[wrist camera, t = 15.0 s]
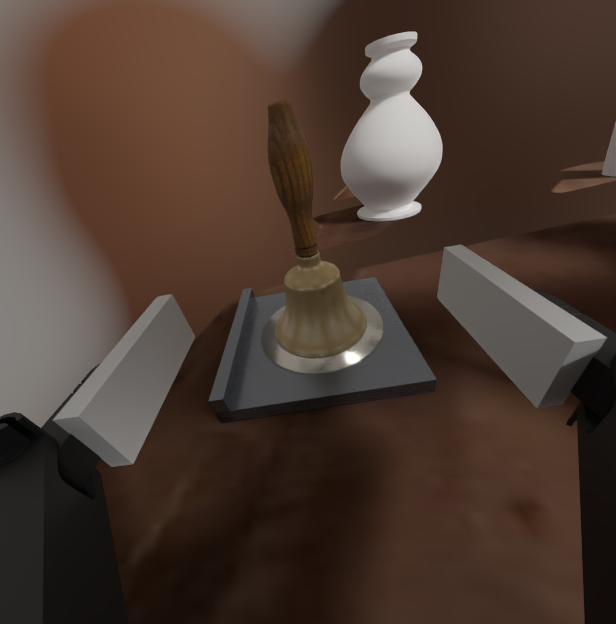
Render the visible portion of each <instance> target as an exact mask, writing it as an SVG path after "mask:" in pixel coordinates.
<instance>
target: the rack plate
mask: <svg viewBox="0 0 616 624" xmlns="http://www.w3.org/2000/svg"><path fill="white" fill-rule="evenodd" d="M342 284H343V288H344V290H345V293H346V295H347V297H348V299H349V300H350V301H352V302H353V303H355V304H356V305H357V306H358V307H360V309H361V310H362V311H363V313H364V315H365V317H366V320H367V328H366V331H365V333H364V335H363V337H362V338H361V339H360V341H359V342H358V343H357V344H356V345H354V346H353V347H352V348H350V349H349V350H347V351H345V352H342V353H340V354H337V355H334V356H330V357H325V358H315V359H310V358H303V357H299V356H295V355H293V354H290V353H288V352H287V351H285V350H284V349H282V348H281V346H280V345H279V344H278V342H277V340H276V338H275V327H276V324H277V321H278V319H279V318H280V316H281V315H282V314H283V312H284V311H285V306H286V292H284V293H278V294H272V295H266V296H261V297H255V296H254V293H253V290H252V288H248V289H243V292H242V295H241V298H240V301H239V305H238V308H237V311H236V314H235V318H234V321H233V324H232V327H231V330H230V334H229V337H228V340H227V343H226V346H225V350H224V353H223V356H222V359H221V362H220V366H219V369H218V372H217V375H216V378H215V382H214V385H213V388H212V391H211V394H210V398H209V401H208V402H209V403H210V405H211V407H212V408H213V410H214V411H215V413H216V415H217V416H218V418H219V419H220V421H221V423H225V422H232V421H238V420H245V419H252V418H258V417H265V416H272V415H279V414H285V413H292V412H299V411H305V410H312V409H319V408H325V407H332V406H339V405H345V404H352V403H359V402H366V401H372V400H379V399H386V398H392V397H399V396H406V395H412V394H419V393H426V392H432V391H435V386H436V381H437V379H436V378H435V376H434V374H433V373H432V371H431V369H430V368H429V366H428V364H427V363H426V361H425V359H424V358H423V356H422V354H421V353H420V351H419V349H418V348H417V346H416V344H415V343H414V341H413V339H412V338H411V336H410V335H409V333H408V331H407V330H406V328H405V326H404V325H403V323H402V321H401V320H400V318H399V316H398V315H397V313H396V311H395V310H394V308H393V306H392V305H391V303H390V301H389V300H388V298H387V296H386V295H385V293H384V291H383V290H382V288H381V286H380V285H379V283H378V282H377V280H376V278H375V277H371V278H366V279H360V280H354V281H348V282H342Z"/></svg>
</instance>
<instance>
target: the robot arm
mask: <svg viewBox="0 0 616 624" xmlns="http://www.w3.org/2000/svg"><path fill="white" fill-rule="evenodd" d="M437 298H438V299H439V301H440V302H441V303H442V304H443V305H444V306H445V307H446V308H447V309H448V311H449V312H450V313H451V314H452V315H453V316H454V317H455V318H456V319H457V321H458V322H459V323H460V324H461V325H462V326H463V327H464V328H465V329H466V331H467V332H468V333H469V334H470V335H471V336H472V337H473V338H474V339H475V341H476V342H477V343H478V344H479V345H480V346H481V347H482V348H483V349H484V351H485V352H486V353H487V354H488V355H489V356H490V357H491V358H492V359H493V360H494V362H495V363H496V364H497V365H498V366H499V367H500V368H501V369H502V370H503V372H504V373H505V374H506V375H507V376H508V377H509V378H510V379H511V380H512V382H513V383H514V384H515V385H516V386H517V387H518V388H519V389H520V390H521V392H522V393H523V394H524V395H525V396H526V397H527V398H528V399H529V400H530V402H531V403H532V404H533V405H534V406H535V407H536V408H537V409H538V408H545V407H553V406H560V405H563V404H564V402H565V401H566V399H567V398H568V396H569V395H570V393H571V392H572V393H573V394H574V395H575V396H576V397H577V398H578V399H579V400H580V401H581V402H580V404H579V405H578V406H577V408H576V409H575V411H574V412H573V413H572V415H571V416H570V418H569V419H568V421H567V424H566V425H569V426H572V425H573V423H574V422H575V421H576V420H577V427H578V454H579V480H580V507H581V533H582V560H583V586H584V613H585V624H616V333H615V332H613V331H611V330H610V329H608V328H607V327H605V326H603V325H602V324H600V323H598V322H597V321H595V320H593V319H592V318H590V317H588V316H587V315H585V314H581V313H580V311H578V310H577V309H575V308H573V307H572V306H571V307H569V304H567V303H565V302H564V301H562V300H560V299H559V298H557V297H555V296H553V295H550V294H547V293H544V292H542V291H539V290H532V289H530V288H528V287H527V286H525V285H524V284H522V283H521V282H519V281H517V280H516V279H514V278H513V277H511V276H510V275H508V274H506V273H505V272H503V271H502V270H500V269H499V268H497V267H495V266H494V265H492V264H491V263H489V262H488V261H486V260H484V259H483V258H481V257H480V256H478V255H477V254H475V253H473V252H472V251H470V250H469V249H467V248H466V247H464V246H462V245H457V246H451V247H445V248H444V253H443V260H442V267H441V273H440V280H439V287H438V294H437ZM194 339H195V335H194V333H193V331H192V330H191V328H190V326H189V324H188V322H187V320H186V318H185V317H184V315H183V313H182V311H181V309H180V307H179V306H178V304H177V302H176V300H175V298H174V296H173V294H170V295H164V296H159V297H157V298H156V299H155V300H154V301H153V302H152V304H151V305H150V306H149V307H148V308H147V309H146V311H145V312H144V313H143V314H142V315H141V316H140V318H139V319H138V320H137V321H136V323H135V324H134V325H133V326H132V327H131V328H130V330H129V331H128V332H127V333H126V334H125V335H124V336H123V338H122V339H121V340H120V341H119V342H118V344H117V345H116V346H115V347H114V348H113V350H112V351H111V352H110V353H109V354H108V355H107V356H106V358H105V359H104V360H103V361H102V362H101V363H100V364H99V365H97V366H96V367H95V368H93V369H92V370H91V371H90V372H89V373H88V375H87V376H86V377H85V378H84V379H83V380H82V381H81V382H82V383H81V384H79V385H78V386H77V387H76V388H75V390H74V391H73V392H74V393H72V394H70V395H69V397H68V398H67V399H66V400H65V401H64V402H63V403H62V405H61V406H60V407H59V408H58V410H57V411H56V412H55V413H54V414H53V415H52V416H51V417H50V418H49V420H48V421H47V422H46V423H45V424H44V425H43V427H42V428H40V427H38V426H37V425H35V424H34V423H33V422H31V421H30V420H29V419H27V418H26V417H25V416H23V415H22V414H21V413H15V412H14V413H10V414H6V415H3V416H1V417H0V624H128V620H127V614H126V609H125V603H124V598H123V593H122V587H121V582H120V576H119V571H118V566H117V560H116V555H115V549H114V544H113V538H112V533H111V528H110V522H109V517H108V511H107V506H106V501H105V495H104V490H103V484H102V479H101V474H100V473H99V471H98V470H97V469H95V467H96V465H97V464H98V462H99V460H100V459H102V460H103V461H105V462H106V463H107V464H108V465H110V466H111V467H116V466H123V465H130V464H134V462H135V460H136V458H137V455H138V453H139V451H140V449H141V447H142V445H143V443H144V441H145V439H146V437H147V435H148V433H149V431H150V429H151V427H152V425H153V423H154V421H155V419H156V417H157V414H158V412H159V410H160V408H161V406H162V404H163V402H164V400H165V398H166V396H167V394H168V392H169V390H170V388H171V386H172V384H173V382H174V380H175V378H176V376H177V373H178V371H179V369H180V367H181V365H182V363H183V361H184V359H185V357H186V355H187V353H188V351H189V349H190V347H191V345H192V343H193V341H194Z"/></svg>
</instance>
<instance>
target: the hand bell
mask: <svg viewBox="0 0 616 624" xmlns="http://www.w3.org/2000/svg"><path fill="white" fill-rule="evenodd" d="M268 117H269V129H268V159H269V166H270V171H271V175H272V178H273V182H274V185H275V188H276V191H277V194H278V196H279V199H280V201H281V203H282V205H283V207H284V208H285V210H286V212H287V214H288V217H289V220H290V223H291V227H292V233H293V238H294V244H295V247H296V248H295V252H296V255H298V256H297V257H298V266H296V267H294V268H292V269H291V270H290V271H289V272H288V273H287V274H286V276H285V280H284V283H285V291H286V306H285V311H284V312H283V314H282V315H281V316H280V318H279V319H278V321H277V324H276V327H275V338H276V340H277V342H278V344H279V345H280V346H281V348H282V349H284V350H285V351H287V352H288V353H290V354H293V355H295V356H299V357H303V358H310V359H315V358H325V357H330V356H334V355H337V354H340V353H342V352H345V351H347V350H349V349H350V348H352V347H353V346H354V345H356V344H357V343H358V342H359V341H360V339H361V338H362V337H363V335H364V333H365V331H366V328H367V320H366V317H365V315H364V313H363V311H362V310H361V309H360V307H358V306H357V305H356V304H355V303H353V302H352V301H350V300H349V299H348V297H347V295H346V293H345V290H344V288H343V284H342V281H341V277H340V272H339V270H338V268H337V267H336V266H335V265H333V264H331V263H329V262H324V261H321V260H320V255H319V251H318V246H317V244H316V237H315V232H314V227H313V223H312V199H313V174H312V173H313V172H312V164H311V158H310V153H309V149H308V146H307V143H306V140H305V138H304V135H303V133H302V131H301V129H300V126H299V124H298V122H297V120H296V117H295V115H294V112H293V109H292V106H291V103H290V101H289V100H285V101H279V102H275V103H271V104H269V105H268Z"/></svg>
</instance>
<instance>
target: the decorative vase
mask: <svg viewBox="0 0 616 624" xmlns="http://www.w3.org/2000/svg"><path fill="white" fill-rule="evenodd" d="M416 41H417V33H416V32H405V33H399V34H394V35H391V36H387V37H384V38H382V39H379V40H377V41H374V42H373V43H371V44H369V45H368V46H366V48H365V55H366V56H367V57H370V58H371V59H372V61H371V62H370V64H369V65H368V66H367V68H366V69H365V71H364V72H363V74H362V76H361V79H360V88H361V90H362V92H363V93H364V94H365V96H366V97H368V98H369V99H370V100H371V103H370V105H369V106H368V108H367V109H366V111H365V112H364V114H363V115H362V117H361V118H360V120H359V121H358V123H357V124H356V126H355V128H354V129H353V131H352V133H351V135H350V137H349V139H348V141H347V143H346V146H345V148H344V151H343V155H342V159H341V174H342V177H343V180H344V182H345V184H346V185H347V186H348V188H349V189H350V190H351V191H352V193H353V194H354V195H355V196H356V197H357V198H358V199H359V200H360V202H361V203H362V204H363V205H364V207H362V208H360V209H359V210H358V211H357V216H358V217H359V218H360V219H363V220H367V221H391V220H398V219H403V218H407V217H410V216H413V215H415V214H417V213H418V212H420V210H421V205H420V203H418V202H414V201H413V200H414V199H415V198H416V197H417V195H418V194H419V193H420V192H421V191H422V189H423V188H424V187H425V186H426V184H427V183H428V182H429V181H430V179H431V178H432V177H433V175H434V174H435V172H436V171H437V169H438V167H439V165H440V162H441V159H442V141H441V137H440V134H439V132H438V130H437V128H436V126H435V124H434V122H433V121H432V119H431V118H430V117H429V115H428V114H427V113H426V111H425V110H424V109H423V108H422V107H421V106H420V105H419V104H418V103H417V102H416V101H415V100H414V98H413V97H412V96H410V90H411V89H412V88H413V87H414V85H415V84H416V83H417V81H418V79H419V78H420V76H421V73H422V64H421V61H420V59H419V58H418V57H417V56H416V55H415V54H413V53H412V52H411V51H410V47H411V46H412V45H414V44H415V43H416Z"/></svg>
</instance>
